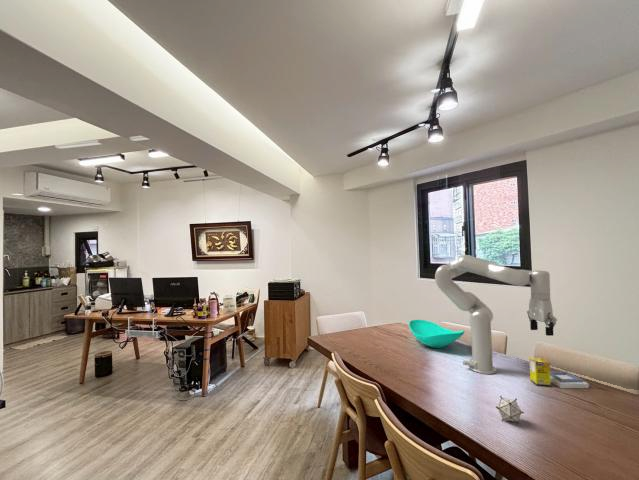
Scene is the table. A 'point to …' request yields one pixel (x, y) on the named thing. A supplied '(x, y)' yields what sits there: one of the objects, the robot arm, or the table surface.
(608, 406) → the table surface
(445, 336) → the table top decor
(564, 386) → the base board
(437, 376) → the table surface
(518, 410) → the grey icosahedron
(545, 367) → the supplement box
